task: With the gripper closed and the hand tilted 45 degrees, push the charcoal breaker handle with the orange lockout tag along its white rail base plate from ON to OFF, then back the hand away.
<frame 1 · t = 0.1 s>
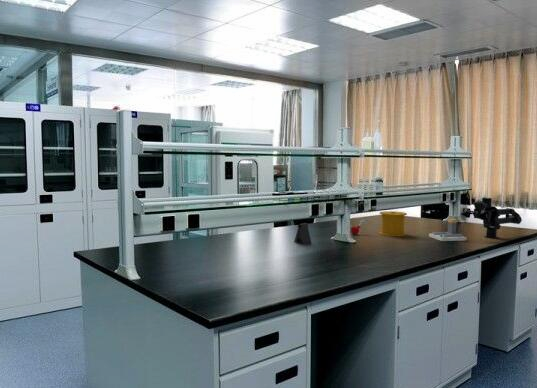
hand: (467, 215, 278), 17 cm above the worktop, tool horizontal, fingers open, 9 cm apart
breaker handle: (451, 227, 286), point 8 cm above the worktop, slide at 0.0 cm
phone stand: (302, 243, 268), on the worktop
white rail base plate: (447, 238, 286), on the worktop
spool: (392, 234, 302), on the worktop
molecular model: (354, 234, 298), on the worktop
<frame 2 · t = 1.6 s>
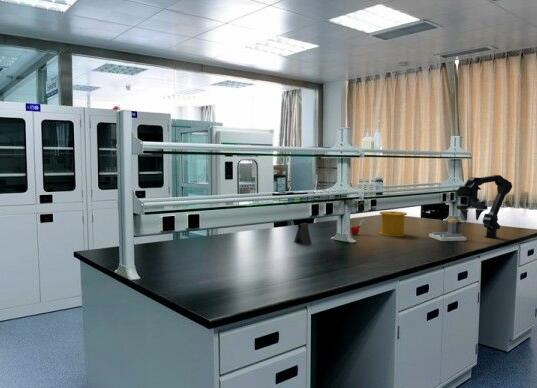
hand: (471, 220, 286), 12 cm above the worktop, tool pointing down, fingers open, 8 cm apart
nothing on the worktop moved.
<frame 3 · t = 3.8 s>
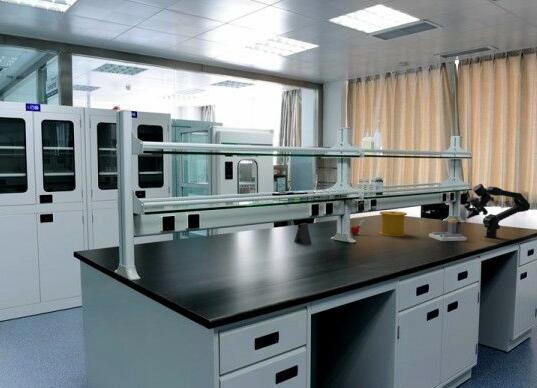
hand: (466, 218, 287), 13 cm above the worktop, tool tilted 45°, fingers closed
nothing on the worktop moved.
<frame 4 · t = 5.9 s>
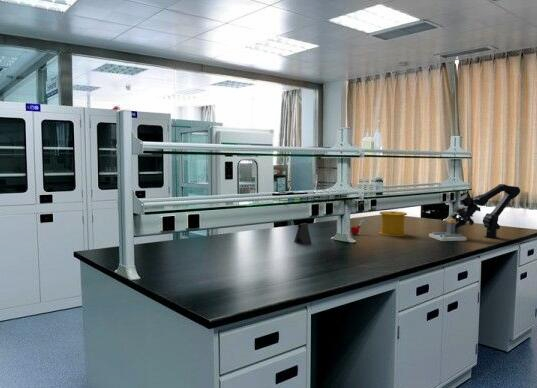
hand: (453, 228, 286), 7 cm above the worktop, tool tilted 45°, fingers closed, pressing on breaker handle
breaker handle: (450, 227, 286), point 8 cm above the worktop, slide at 0.9 cm, touching gripper
everything else where it was.
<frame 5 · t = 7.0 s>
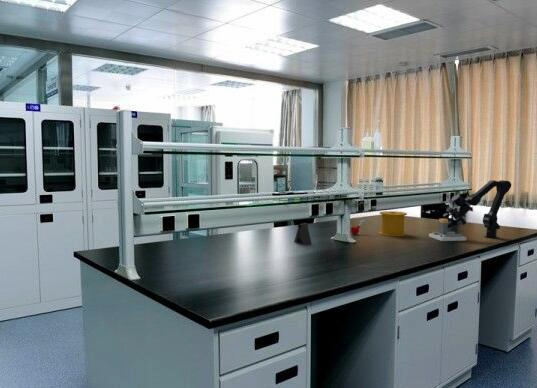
hand: (445, 228, 285), 7 cm above the worktop, tool tilted 45°, fingers closed, pressing on breaker handle
breaker handle: (443, 227, 285), point 8 cm above the worktop, slide at 6.2 cm, touching gripper
everything else where it was.
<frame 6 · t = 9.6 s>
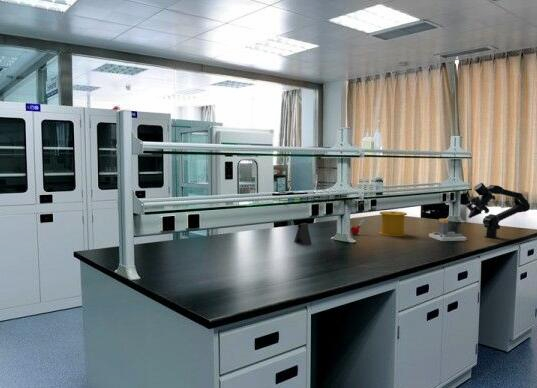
hand: (468, 217, 287), 14 cm above the worktop, tool tilted 45°, fingers closed
breaker handle: (443, 227, 285), point 8 cm above the worktop, slide at 6.0 cm
everything else where it was.
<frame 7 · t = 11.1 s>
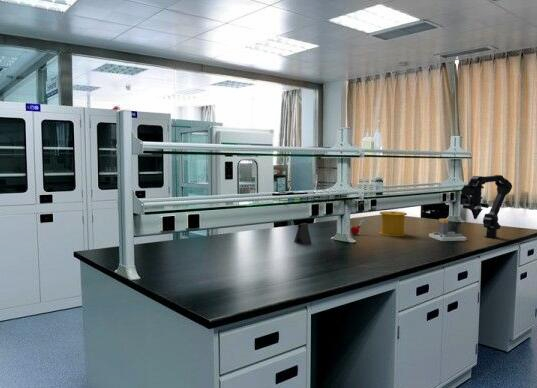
hand: (475, 219, 285), 13 cm above the worktop, tool pointing down, fingers closed
nothing on the worktop moved.
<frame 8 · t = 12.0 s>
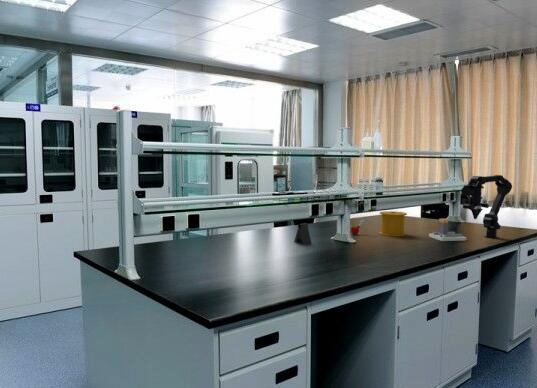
hand: (475, 219, 285), 13 cm above the worktop, tool pointing down, fingers closed
nothing on the worktop moved.
at the end: breaker handle slide at 6.0 cm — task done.
